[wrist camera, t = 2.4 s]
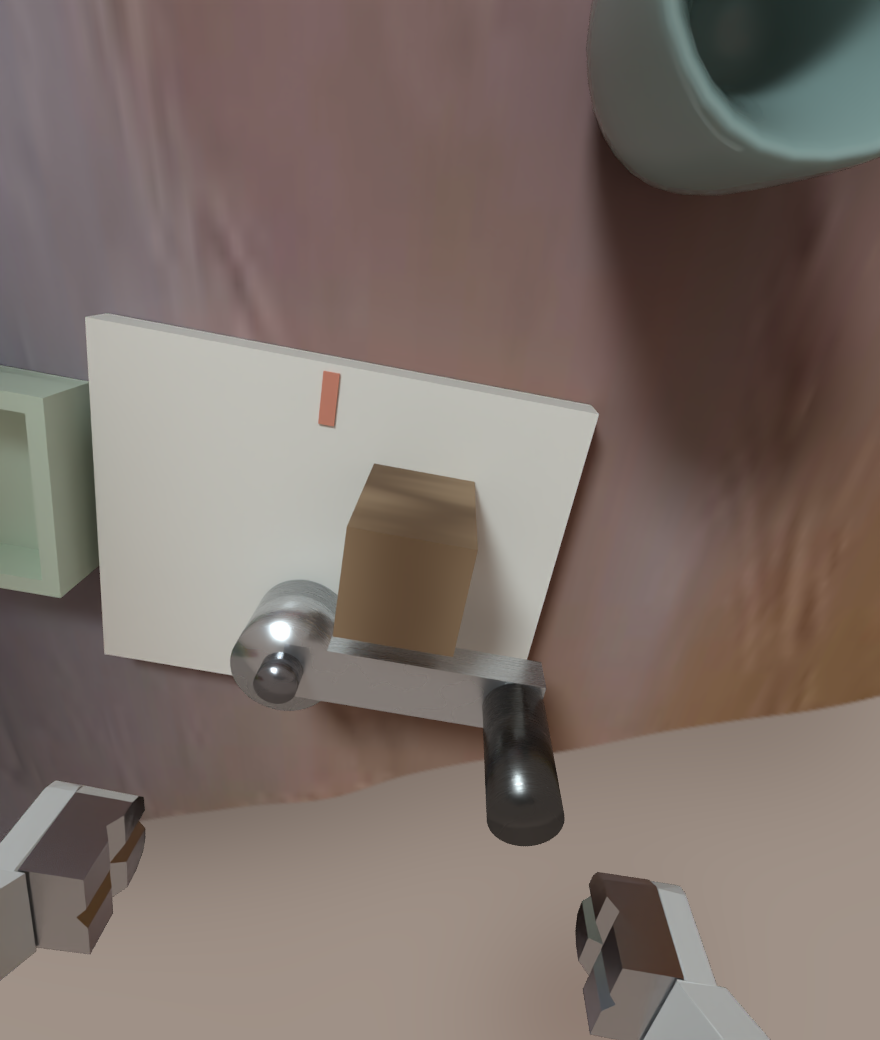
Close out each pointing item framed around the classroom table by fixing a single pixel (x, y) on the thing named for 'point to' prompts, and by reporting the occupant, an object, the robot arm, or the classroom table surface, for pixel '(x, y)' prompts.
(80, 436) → the tray
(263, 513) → the crank plate
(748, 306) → the classroom table surface
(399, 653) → the crank
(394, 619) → the block
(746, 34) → the cup
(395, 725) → the classroom table surface
